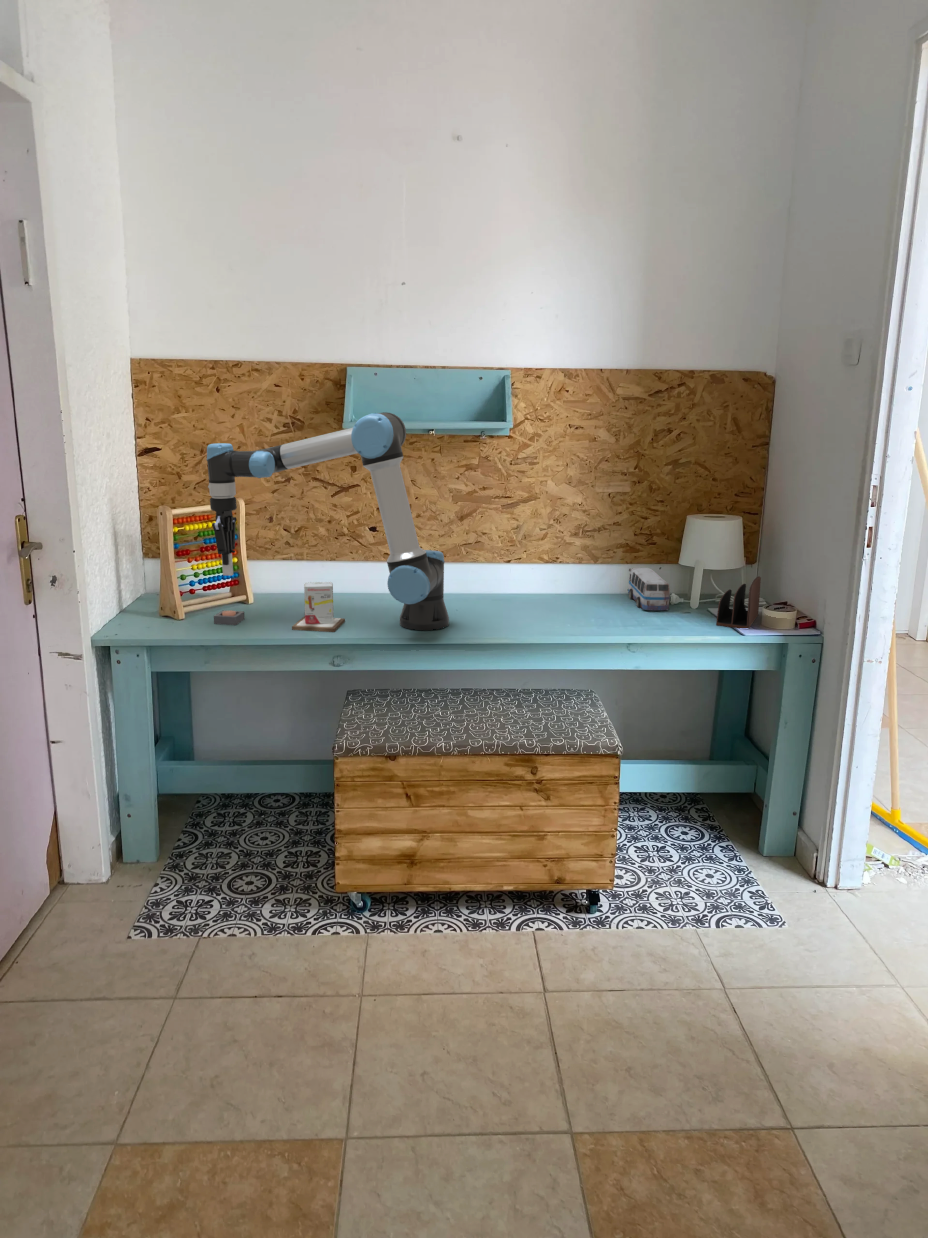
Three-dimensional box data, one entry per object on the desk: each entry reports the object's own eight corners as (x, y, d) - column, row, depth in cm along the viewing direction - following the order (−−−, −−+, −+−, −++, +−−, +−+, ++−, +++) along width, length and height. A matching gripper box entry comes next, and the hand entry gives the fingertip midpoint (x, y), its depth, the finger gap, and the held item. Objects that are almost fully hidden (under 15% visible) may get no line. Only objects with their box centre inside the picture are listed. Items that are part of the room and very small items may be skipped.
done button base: (244, 619, 282) (244, 611, 281) (236, 625, 275) (235, 617, 275) (223, 618, 283) (222, 610, 282) (213, 623, 276) (213, 615, 276)
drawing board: (345, 621, 281) (345, 617, 281) (334, 632, 270) (334, 628, 270) (304, 619, 283) (304, 615, 283) (291, 629, 272) (291, 625, 271)
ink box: (305, 624, 273) (303, 585, 270) (304, 620, 278) (303, 582, 275) (333, 623, 275) (333, 585, 271) (333, 619, 279) (332, 581, 276)
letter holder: (758, 615, 297) (762, 573, 294) (748, 630, 280) (753, 585, 276) (727, 612, 302) (731, 570, 298) (715, 626, 284) (719, 582, 281)
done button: (238, 618, 281) (237, 610, 280) (233, 621, 277) (232, 614, 276) (225, 617, 281) (225, 610, 281) (220, 621, 277) (220, 613, 277)
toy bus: (652, 593, 325) (654, 566, 323) (671, 613, 299) (674, 583, 296) (624, 593, 325) (626, 566, 322) (641, 612, 299) (643, 583, 296)
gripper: (219, 493, 276) (224, 570, 282) (201, 499, 264) (207, 579, 270) (243, 494, 275) (248, 570, 281) (226, 499, 263) (231, 579, 269)
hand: (228, 574), depth 275 cm, fingers closed
